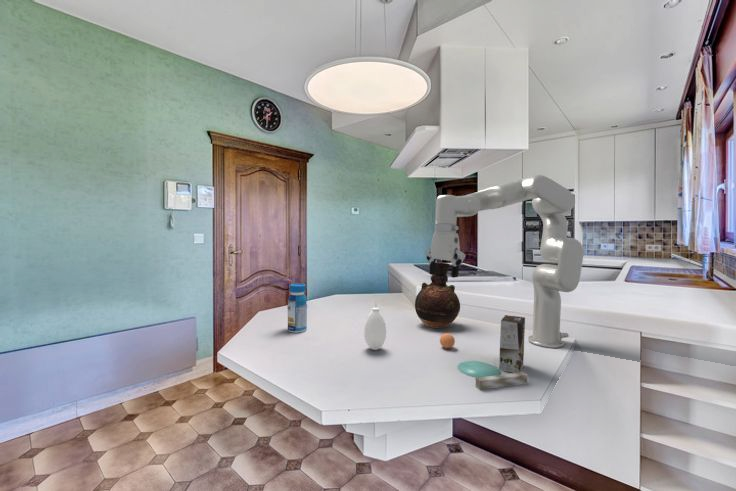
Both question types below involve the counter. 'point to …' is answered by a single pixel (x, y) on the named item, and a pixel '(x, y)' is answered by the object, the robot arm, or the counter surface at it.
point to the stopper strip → (501, 380)
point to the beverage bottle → (297, 309)
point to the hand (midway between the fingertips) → (443, 275)
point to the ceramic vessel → (437, 300)
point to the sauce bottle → (375, 329)
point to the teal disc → (478, 369)
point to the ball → (447, 340)
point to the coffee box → (512, 343)
